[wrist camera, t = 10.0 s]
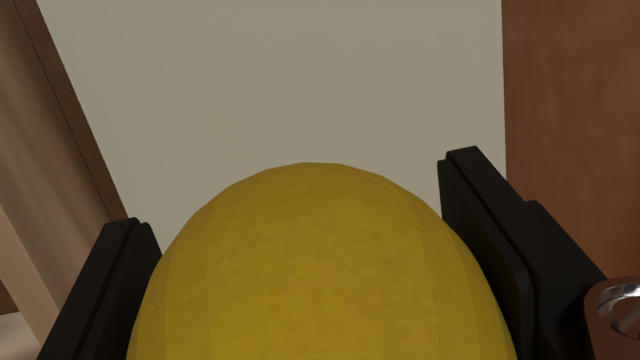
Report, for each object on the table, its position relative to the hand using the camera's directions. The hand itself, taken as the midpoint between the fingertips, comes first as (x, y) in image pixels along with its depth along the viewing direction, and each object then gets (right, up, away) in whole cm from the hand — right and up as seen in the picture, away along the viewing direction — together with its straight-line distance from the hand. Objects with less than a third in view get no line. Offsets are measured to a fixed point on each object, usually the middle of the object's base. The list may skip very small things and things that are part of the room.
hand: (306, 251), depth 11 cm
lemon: (0, +1, +1) cm, 1 cm away
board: (0, +4, +7) cm, 8 cm away
